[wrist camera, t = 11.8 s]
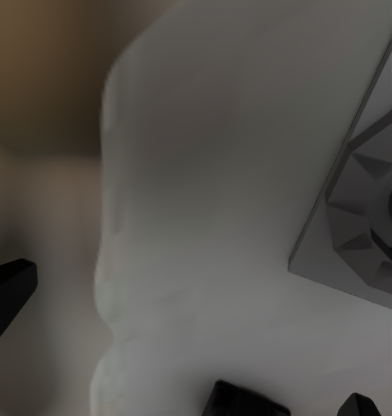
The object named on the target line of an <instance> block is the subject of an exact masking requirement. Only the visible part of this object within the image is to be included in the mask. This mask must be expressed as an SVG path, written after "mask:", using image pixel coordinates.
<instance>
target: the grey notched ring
mask: <svg viewBox="0 0 392 416" xmlns="http://www.w3.org/2000/svg"><path fill="white" fill-rule="evenodd" d="M391 191H392V40H391V42H390V44H389V47H388V49H387V51H386V53H385V55H384V57H383V59H382V62H381V64H380V66H379V68H378V70H377V72H376V75H375V77H374V79H373V81H372V83H371V85H370V87H369V90H368V92H367V94H366V96H365V98H364V100H363V102H362V105H361V107H360V109H359V111H358V113H357V115H356V118H355V120H354V122H353V124H352V126H351V128H350V130H349V133H348V135H347V137H346V139H345V141H344V143H343V146H342V148H341V150H340V152H339V154H338V156H337V158H336V161H335V163H334V165H333V167H332V169H331V171H330V173H329V176H328V178H327V180H326V182H325V184H324V186H323V189H322V191H321V193H320V195H319V197H318V199H317V201H316V204H315V206H314V208H313V210H312V212H311V214H310V216H309V219H308V221H307V223H306V225H305V227H304V229H303V232H302V234H301V236H300V238H299V240H298V242H297V244H296V247H295V249H294V251H293V253H292V255H291V257H290V259H289V262H288V272H291V273H293V274H296V275H299V276H302V277H304V278H307V279H310V280H313V281H315V282H318V283H321V284H324V285H326V286H329V287H332V288H335V289H337V290H340V291H343V292H346V293H349V294H351V295H354V296H357V297H360V298H362V299H365V300H368V301H371V302H373V303H376V304H379V305H382V306H384V307H387V308H390V309H392V219H391V216H390V213H389V208H388V202H389V196H390V193H391Z"/></svg>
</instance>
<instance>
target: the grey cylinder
mask: <svg viewBox="0 0 392 416" xmlns="http://www.w3.org/2000/svg"><path fill="white" fill-rule="evenodd" d="M388 208H389V213H390V216H391V219H392V191H391V193H390V196H389V202H388Z"/></svg>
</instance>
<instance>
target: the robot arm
mask: <svg viewBox="0 0 392 416" xmlns="http://www.w3.org/2000/svg"><path fill="white" fill-rule="evenodd" d="M37 285H38V275H37V265H36V263H35V262H33V261H30V260H28V259H25V258H21V259H17V260H14V261H11V262H8V263H5V264H2V265H0V337H1V335H2V334H3V333H4V332H5V330H6V329H7V328H8V326H9V325H10V324H11V322H12V321H13V320H14V318H15V317H16V316H17V314H18V313H19V312H20V310H21V309H22V308H23V306H24V305H25V304H26V302H27V301H28V300H29V298H30V297H31V296H32V294H33V293H34V291H35V290H36V288H37ZM202 416H291V413H290V412H289V411H288V410H286V409H284V408H281V407H279V406H277V405H274V404H272V403H270V402H267V401H265V400H263V399H260V398H258V397H256V396H253V395H251V394H249V393H246V392H244V391H242V390H239V389H237V388H235V387H232V386H230V385H228V384H225V383H223V382H216V384H215V386H214V388H213V391H212V393H211V396H210V398H209V400H208V403H207V405H206V408H205V410H204V412H203V415H202ZM337 416H381V414H380V413H379V411H378V409H377V407H376V405H375V404H374V402H373V401H372V400H371V399H370V398H368V397H366V396H363V395H361V394H359V393H352V394H351V395H350V396H349V397H348V399H347V400H346V401H345V402H344V404H343V405H342V406H341V407H340V409H339V411H338V413H337Z"/></svg>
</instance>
